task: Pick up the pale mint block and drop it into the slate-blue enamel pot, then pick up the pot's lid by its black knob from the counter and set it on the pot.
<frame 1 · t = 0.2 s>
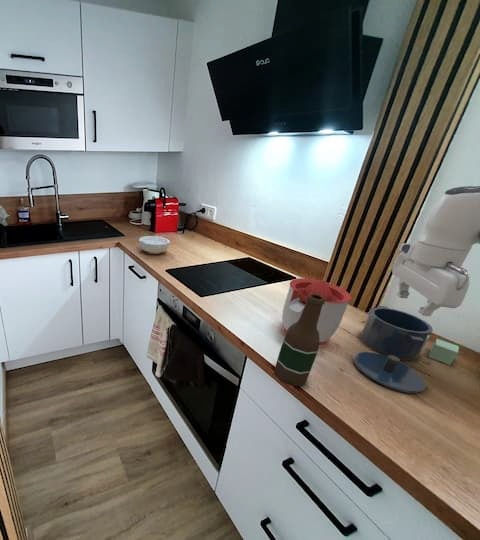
hand: (412, 305, 74), 19 cm above the worktop, tool pointing down, fingers open, 8 cm apart
block: (439, 357, 84), on the worktop
citrus juicer: (301, 336, 92), on the worktop
cereal bowl: (153, 252, 162), on the worktop
pot: (387, 345, 89), on the worktop
beer bottle: (288, 376, 75), on the worktop
pot lid: (387, 371, 77), point 1 cm above the worktop
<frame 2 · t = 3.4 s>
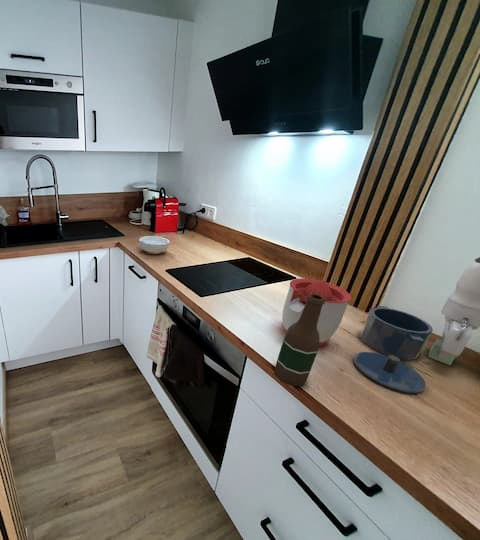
hand: (442, 353, 83), 2 cm above the worktop, tool pointing down, fingers closed on block, 4 cm apart
block: (439, 357, 84), on the worktop, touching gripper
everything else where it was.
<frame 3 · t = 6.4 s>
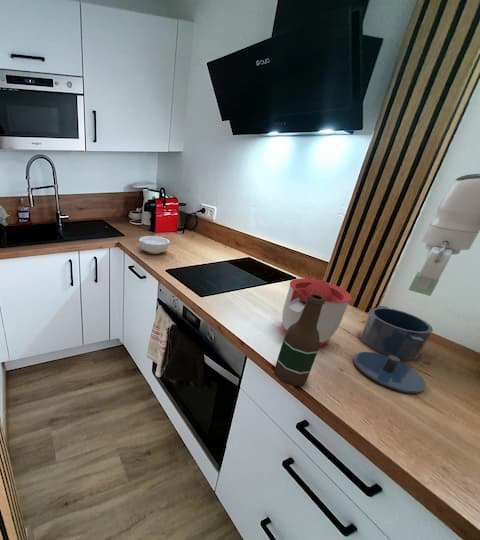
hand: (422, 285, 80), 21 cm above the worktop, tool pointing down, fingers closed on block, 4 cm apart
block: (420, 290, 80), point 19 cm above the worktop, touching gripper
everything else where it was.
when the fingers open (9 cm above the worktop, at t = 9.5 s): block drops 7 cm, resting on pot.
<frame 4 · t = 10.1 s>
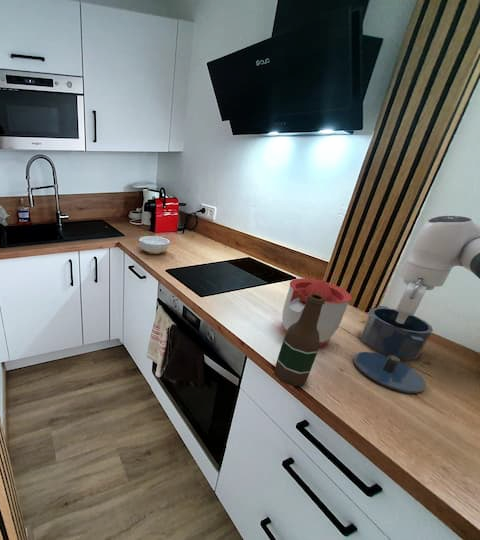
hand: (402, 316, 84), 10 cm above the worktop, tool pointing down, fingers open, 8 cm apart
block: (388, 343, 89), point 1 cm above the worktop, touching pot
everything else where it was.
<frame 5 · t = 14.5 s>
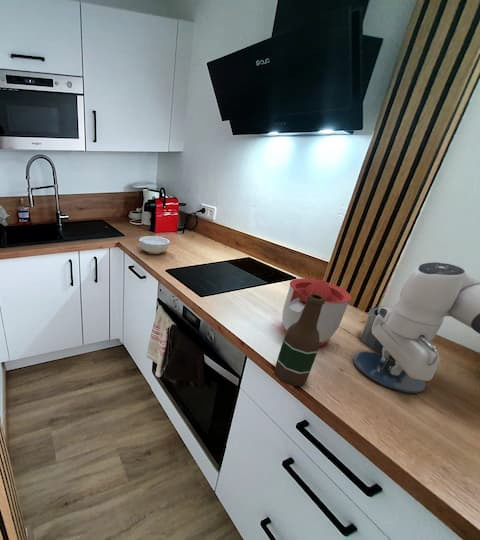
hand: (389, 368, 77), 2 cm above the worktop, tool pointing down, fingers closed on pot lid, 2 cm apart
pot lid: (387, 371, 77), point 1 cm above the worktop, touching gripper
everything else where it was.
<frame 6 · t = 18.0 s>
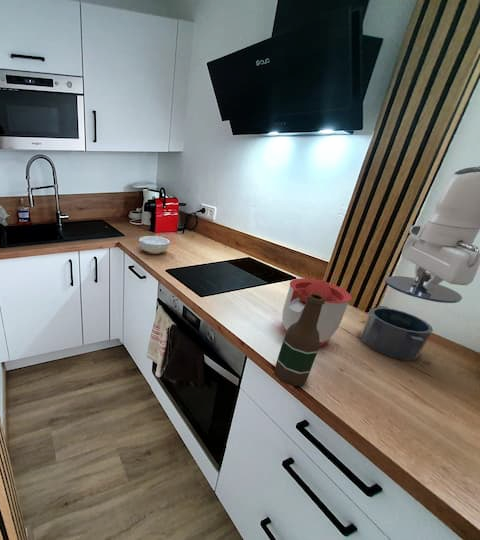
hand: (422, 285, 76), 23 cm above the worktop, tool pointing down, fingers closed on pot lid, 2 cm apart
pot lid: (420, 289, 76), point 22 cm above the worktop, touching gripper
everything else where it was.
when the fingers open (10 cm above the worktop, at t = 21.6 s): pot lid stays where it is, resting on pot.
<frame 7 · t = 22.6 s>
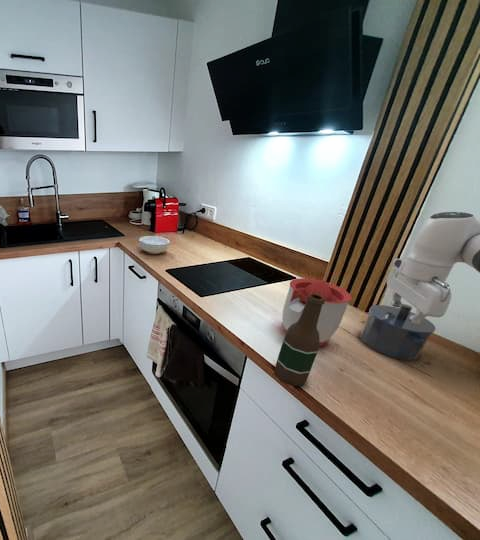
hand: (403, 313, 84), 11 cm above the worktop, tool pointing down, fingers open, 8 cm apart
pot lid: (400, 319, 85), point 9 cm above the worktop, touching pot
everything else where it was.
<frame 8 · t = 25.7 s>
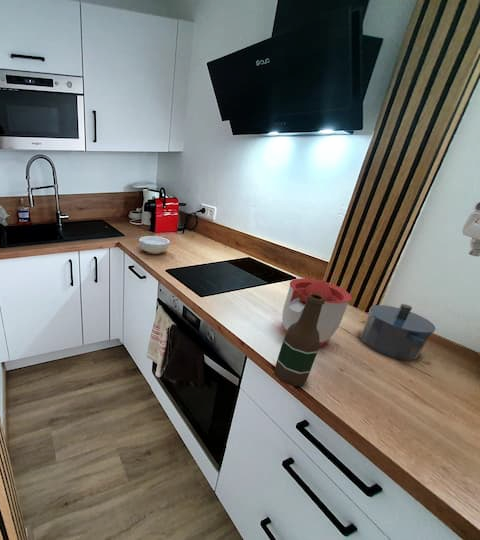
nothing on the worktop moved.
at the end: block inside the target area in the pot (0.1 cm from its centre), point 0.5 cm above the pot's base; pot lid 0.1 cm off-centre on the pot, point 9.5 cm above the pot's base; pot lid tilted 0° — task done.
